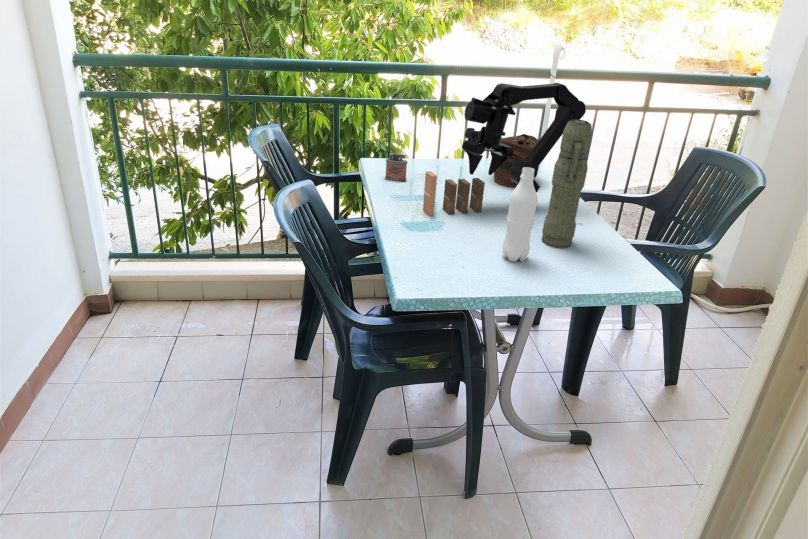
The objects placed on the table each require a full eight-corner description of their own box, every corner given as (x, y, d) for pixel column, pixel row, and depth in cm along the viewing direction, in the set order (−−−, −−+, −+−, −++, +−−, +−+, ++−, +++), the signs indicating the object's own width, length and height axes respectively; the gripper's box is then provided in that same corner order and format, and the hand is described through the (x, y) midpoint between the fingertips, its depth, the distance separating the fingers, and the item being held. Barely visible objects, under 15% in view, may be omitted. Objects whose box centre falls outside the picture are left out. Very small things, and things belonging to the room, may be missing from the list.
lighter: (383, 179, 208) (384, 153, 204) (386, 177, 211) (387, 150, 206) (404, 182, 206) (406, 156, 202) (407, 180, 209) (408, 153, 205)
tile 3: (448, 208, 185) (451, 179, 180) (454, 214, 181) (457, 184, 176) (442, 209, 184) (445, 179, 180) (448, 214, 180) (451, 184, 175)
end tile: (428, 210, 183) (431, 171, 177) (433, 215, 178) (437, 176, 173) (422, 210, 182) (425, 171, 176) (428, 216, 178) (431, 176, 172)
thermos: (567, 234, 170) (591, 117, 154) (575, 251, 160) (602, 127, 144) (538, 232, 170) (558, 115, 155) (544, 248, 160) (567, 125, 144)
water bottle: (509, 249, 158) (522, 163, 147) (532, 257, 154) (547, 169, 143) (496, 257, 153) (509, 168, 142) (519, 266, 149) (534, 175, 138)
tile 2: (461, 207, 186) (464, 178, 182) (467, 213, 182) (470, 183, 177) (455, 208, 185) (458, 178, 181) (461, 213, 181) (464, 183, 177)
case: (533, 175, 222) (540, 130, 214) (537, 192, 205) (544, 143, 196) (488, 172, 224) (493, 127, 216) (487, 188, 207) (493, 139, 198)
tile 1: (474, 206, 188) (478, 177, 183) (481, 212, 184) (485, 182, 179) (469, 207, 187) (472, 178, 183) (475, 212, 183) (479, 183, 178)
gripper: (495, 121, 185) (481, 167, 191) (456, 116, 173) (443, 165, 179) (520, 131, 178) (505, 178, 184) (482, 126, 166) (467, 177, 172)
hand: (480, 174), depth 180 cm, fingers open, 9 cm apart
